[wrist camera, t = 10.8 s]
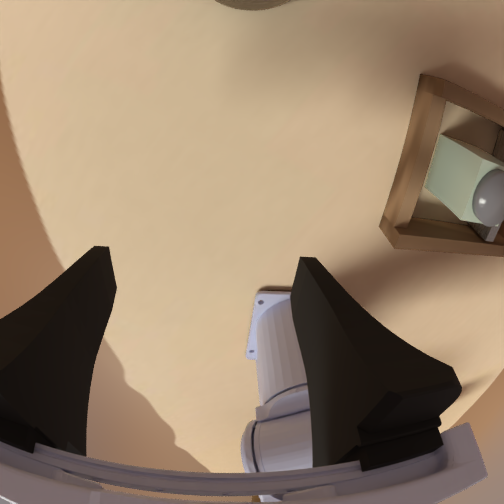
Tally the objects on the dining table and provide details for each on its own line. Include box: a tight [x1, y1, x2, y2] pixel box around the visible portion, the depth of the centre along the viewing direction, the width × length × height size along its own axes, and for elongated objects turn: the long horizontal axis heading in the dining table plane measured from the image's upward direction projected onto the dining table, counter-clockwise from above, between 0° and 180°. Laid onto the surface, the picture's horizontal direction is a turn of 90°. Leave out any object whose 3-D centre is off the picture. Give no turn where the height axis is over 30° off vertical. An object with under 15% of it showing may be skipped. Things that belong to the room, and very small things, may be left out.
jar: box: [425, 134, 504, 227], centre depth 18 cm, size 4×4×6 cm
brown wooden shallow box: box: [379, 74, 504, 257], centre depth 19 cm, size 12×16×4 cm
